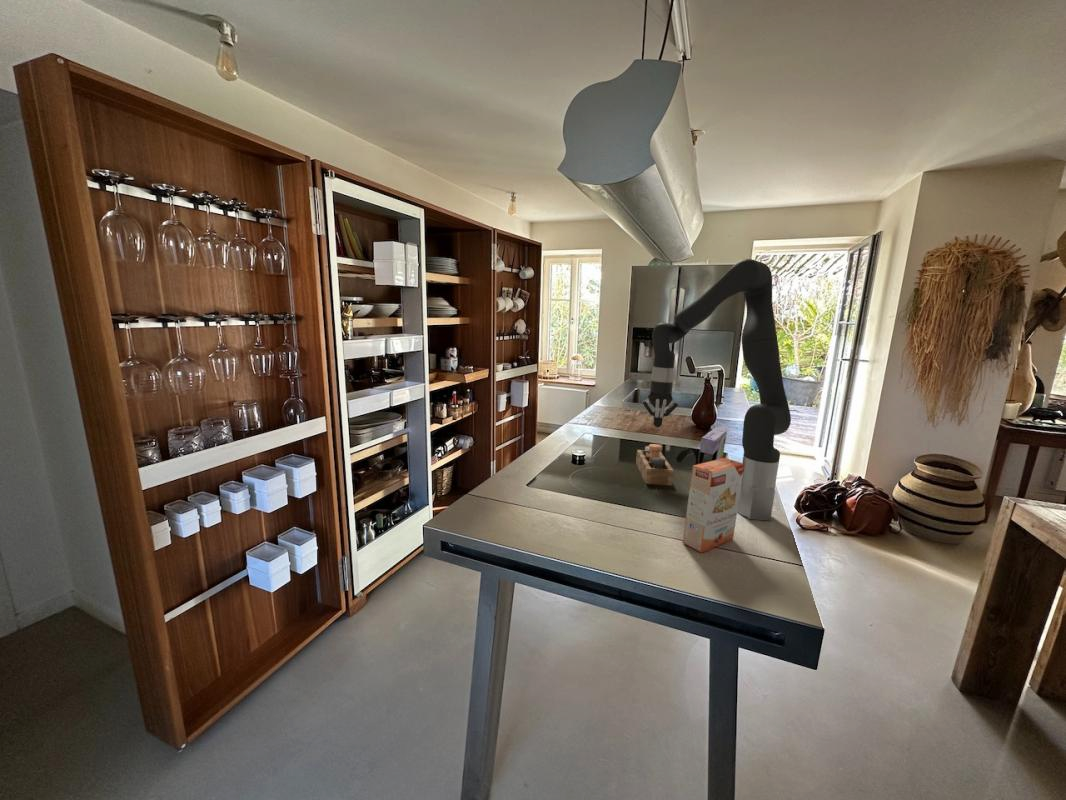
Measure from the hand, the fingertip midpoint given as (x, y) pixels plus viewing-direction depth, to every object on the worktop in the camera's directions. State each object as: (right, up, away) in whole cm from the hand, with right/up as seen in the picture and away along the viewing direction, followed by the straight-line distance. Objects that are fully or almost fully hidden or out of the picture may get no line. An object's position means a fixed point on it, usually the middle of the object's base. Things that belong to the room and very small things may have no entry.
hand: (657, 426), depth 152 cm
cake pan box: (+18, -19, -1) cm, 26 cm away
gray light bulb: (-1, -18, -4) cm, 19 cm away
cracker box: (0, -27, -45) cm, 52 cm away
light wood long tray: (-1, -18, +3) cm, 18 cm away
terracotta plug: (-1, -14, +3) cm, 15 cm away
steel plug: (0, -16, +10) cm, 19 cm away
